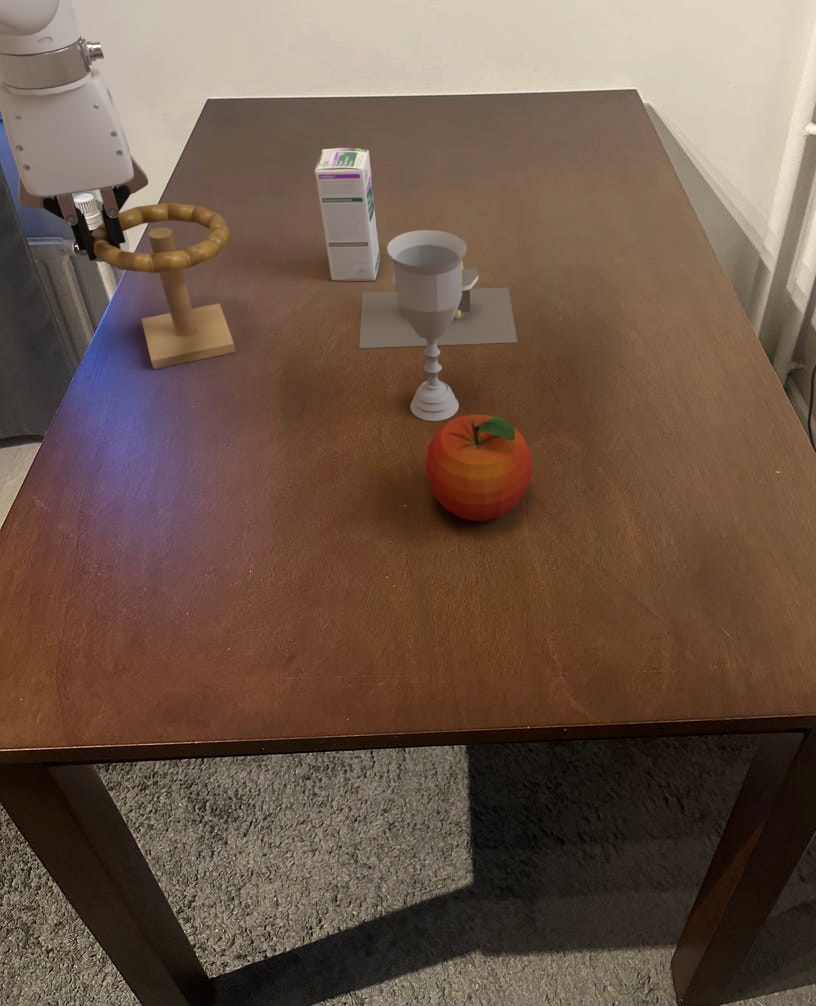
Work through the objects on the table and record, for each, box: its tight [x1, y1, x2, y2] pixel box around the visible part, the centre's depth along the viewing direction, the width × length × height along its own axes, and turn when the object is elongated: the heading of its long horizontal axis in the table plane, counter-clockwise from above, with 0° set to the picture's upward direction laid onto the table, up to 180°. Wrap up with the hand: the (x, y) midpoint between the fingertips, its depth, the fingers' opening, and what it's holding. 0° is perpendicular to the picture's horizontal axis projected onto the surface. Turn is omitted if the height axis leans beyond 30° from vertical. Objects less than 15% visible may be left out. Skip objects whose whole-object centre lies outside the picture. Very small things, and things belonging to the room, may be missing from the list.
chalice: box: [386, 229, 468, 422], centre depth 87 cm, size 7×7×18 cm
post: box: [141, 226, 236, 370], centre depth 97 cm, size 9×9×13 cm
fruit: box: [425, 414, 533, 522], centre depth 79 cm, size 10×10×10 cm
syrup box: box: [314, 147, 381, 282], centre depth 108 cm, size 6×6×14 cm
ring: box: [91, 202, 231, 274], centre depth 93 cm, size 14×14×2 cm
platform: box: [358, 261, 518, 349], centre depth 103 cm, size 12×18×7 cm, turn 94°
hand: (104, 250), depth 92 cm, fingers closed on ring, 1 cm apart
